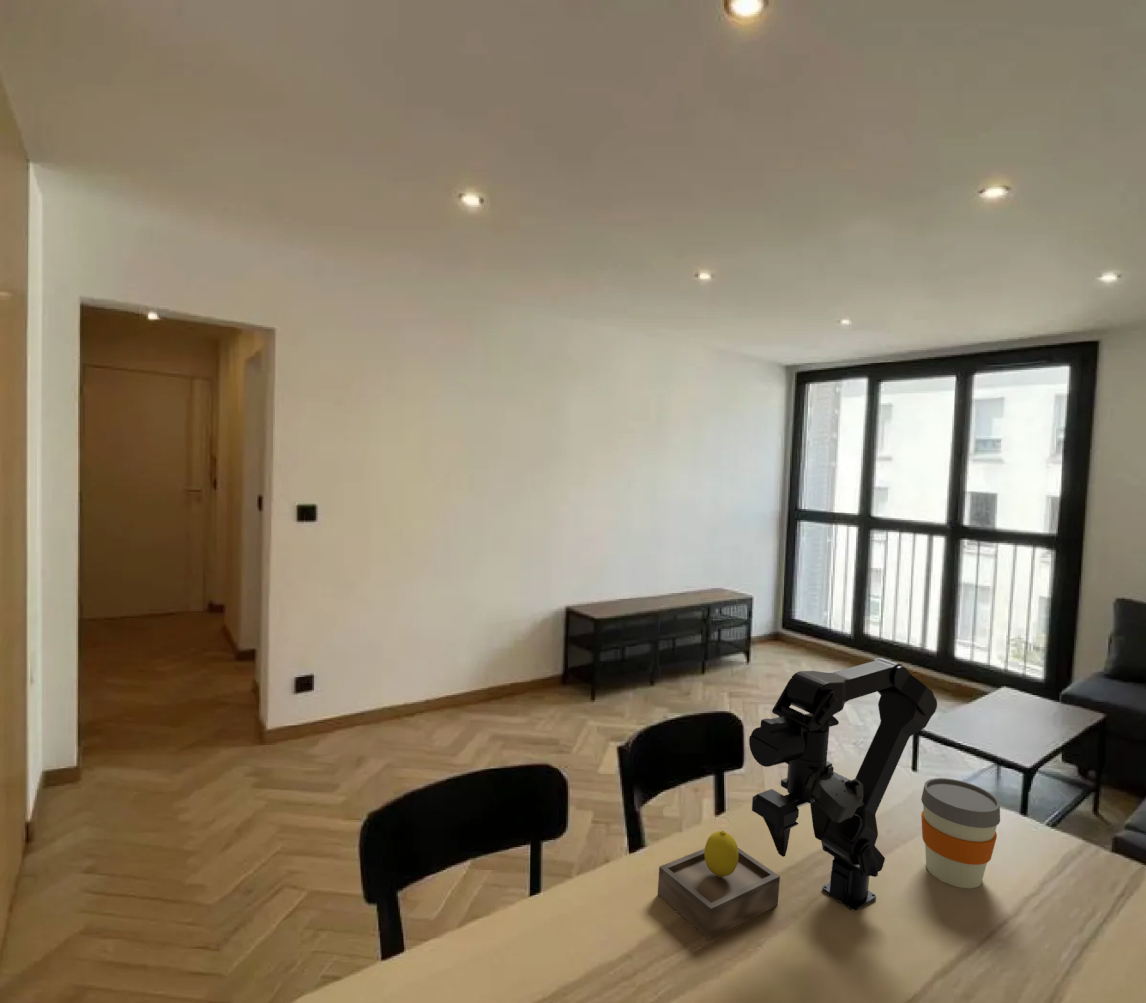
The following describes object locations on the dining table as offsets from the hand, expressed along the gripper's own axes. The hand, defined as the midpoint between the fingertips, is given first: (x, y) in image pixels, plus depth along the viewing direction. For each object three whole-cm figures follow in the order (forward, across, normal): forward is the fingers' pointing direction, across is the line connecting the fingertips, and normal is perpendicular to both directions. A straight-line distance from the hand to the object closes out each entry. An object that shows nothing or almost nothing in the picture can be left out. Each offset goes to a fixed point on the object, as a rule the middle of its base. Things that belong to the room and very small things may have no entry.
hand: (800, 846), depth 109 cm
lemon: (+8, -8, +10) cm, 15 cm away
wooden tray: (+12, -8, +10) cm, 17 cm away
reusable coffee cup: (+12, +36, -7) cm, 39 cm away
